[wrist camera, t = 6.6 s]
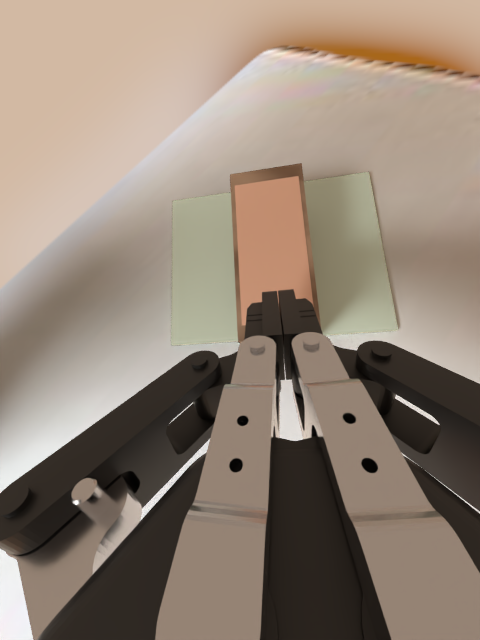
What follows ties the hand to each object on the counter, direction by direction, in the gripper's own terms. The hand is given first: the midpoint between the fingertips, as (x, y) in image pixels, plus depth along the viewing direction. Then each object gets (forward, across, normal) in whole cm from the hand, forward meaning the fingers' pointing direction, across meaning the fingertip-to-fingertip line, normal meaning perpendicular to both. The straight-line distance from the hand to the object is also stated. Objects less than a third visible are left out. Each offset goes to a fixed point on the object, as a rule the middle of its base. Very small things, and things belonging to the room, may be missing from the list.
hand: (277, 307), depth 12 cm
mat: (+11, 0, +1) cm, 11 cm away
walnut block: (+3, 0, +5) cm, 6 cm away
